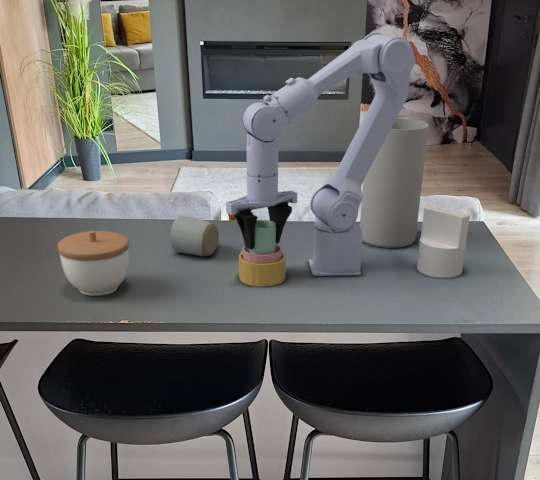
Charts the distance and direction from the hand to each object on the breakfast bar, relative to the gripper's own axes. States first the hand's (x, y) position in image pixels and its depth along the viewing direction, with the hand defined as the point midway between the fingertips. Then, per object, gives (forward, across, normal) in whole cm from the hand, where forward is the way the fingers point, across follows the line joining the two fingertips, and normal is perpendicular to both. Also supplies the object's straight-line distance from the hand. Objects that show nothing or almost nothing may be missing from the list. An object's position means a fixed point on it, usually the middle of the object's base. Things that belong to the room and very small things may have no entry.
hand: (262, 244), depth 135 cm
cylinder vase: (+7, -36, -4) cm, 36 cm away
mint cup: (+1, 0, 0) cm, 1 cm away
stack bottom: (+7, 0, 0) cm, 7 cm away
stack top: (+7, 0, 0) cm, 7 cm away
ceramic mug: (+7, +4, -20) cm, 21 cm away
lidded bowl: (+7, +29, -12) cm, 32 cm away
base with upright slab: (+7, -33, +15) cm, 37 cm away
